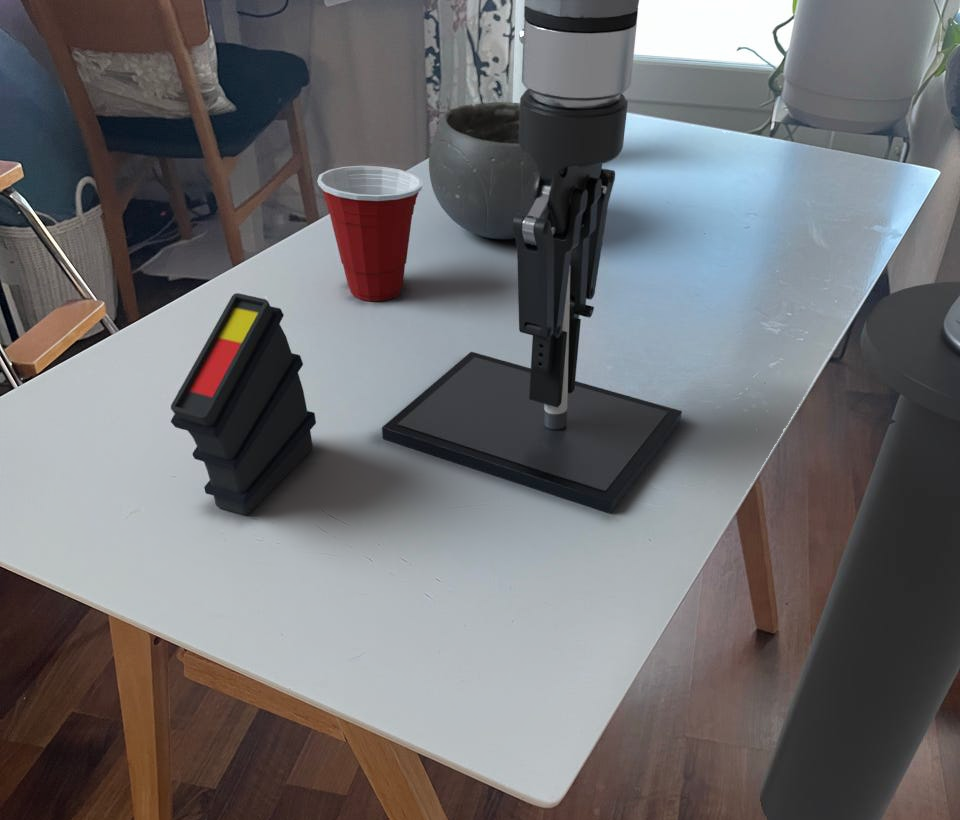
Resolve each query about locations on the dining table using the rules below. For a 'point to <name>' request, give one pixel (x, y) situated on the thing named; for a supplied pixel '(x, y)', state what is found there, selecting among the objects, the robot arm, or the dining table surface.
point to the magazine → (245, 405)
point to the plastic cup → (371, 225)
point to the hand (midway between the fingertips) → (551, 393)
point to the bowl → (482, 168)
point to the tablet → (535, 432)
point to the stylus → (554, 415)
